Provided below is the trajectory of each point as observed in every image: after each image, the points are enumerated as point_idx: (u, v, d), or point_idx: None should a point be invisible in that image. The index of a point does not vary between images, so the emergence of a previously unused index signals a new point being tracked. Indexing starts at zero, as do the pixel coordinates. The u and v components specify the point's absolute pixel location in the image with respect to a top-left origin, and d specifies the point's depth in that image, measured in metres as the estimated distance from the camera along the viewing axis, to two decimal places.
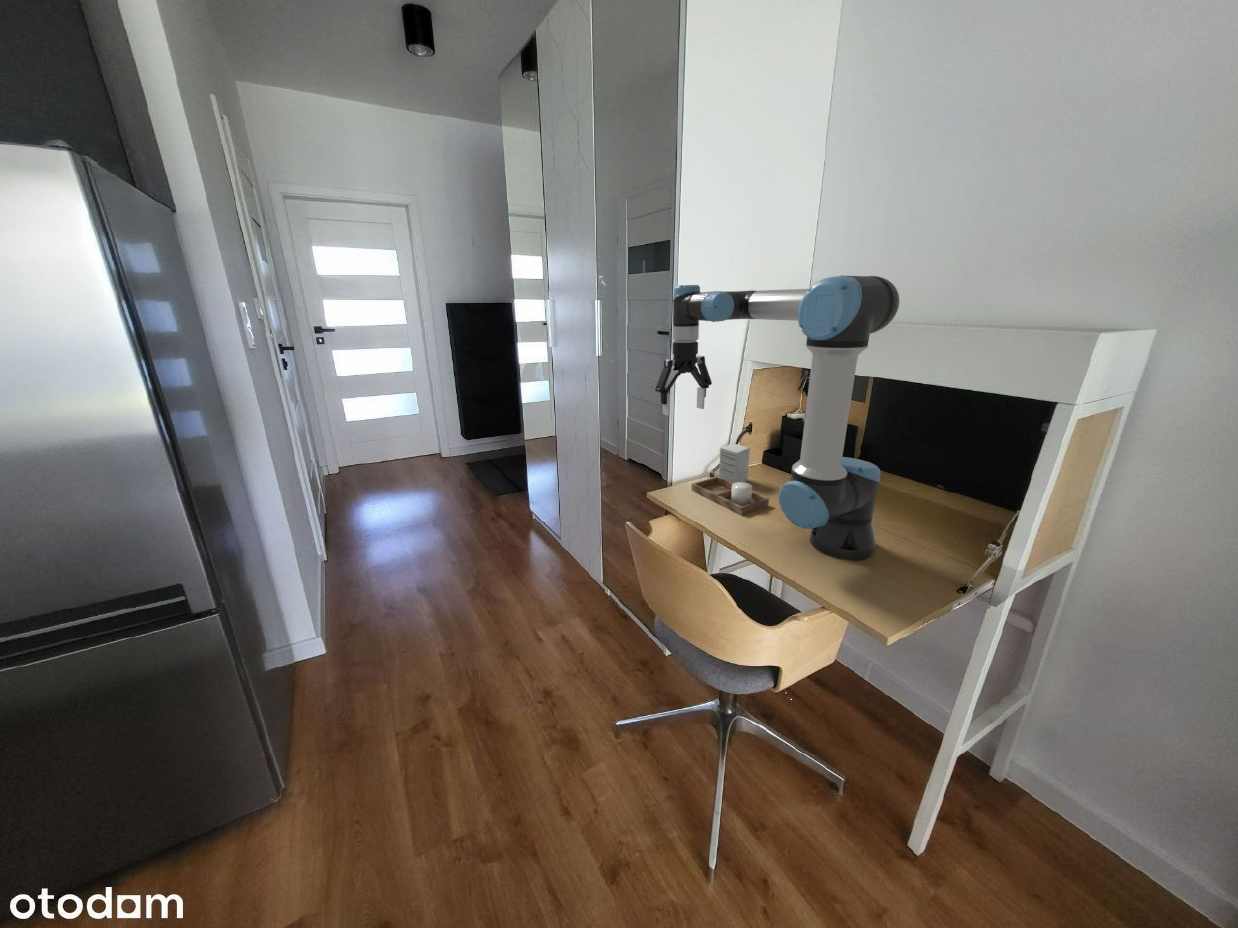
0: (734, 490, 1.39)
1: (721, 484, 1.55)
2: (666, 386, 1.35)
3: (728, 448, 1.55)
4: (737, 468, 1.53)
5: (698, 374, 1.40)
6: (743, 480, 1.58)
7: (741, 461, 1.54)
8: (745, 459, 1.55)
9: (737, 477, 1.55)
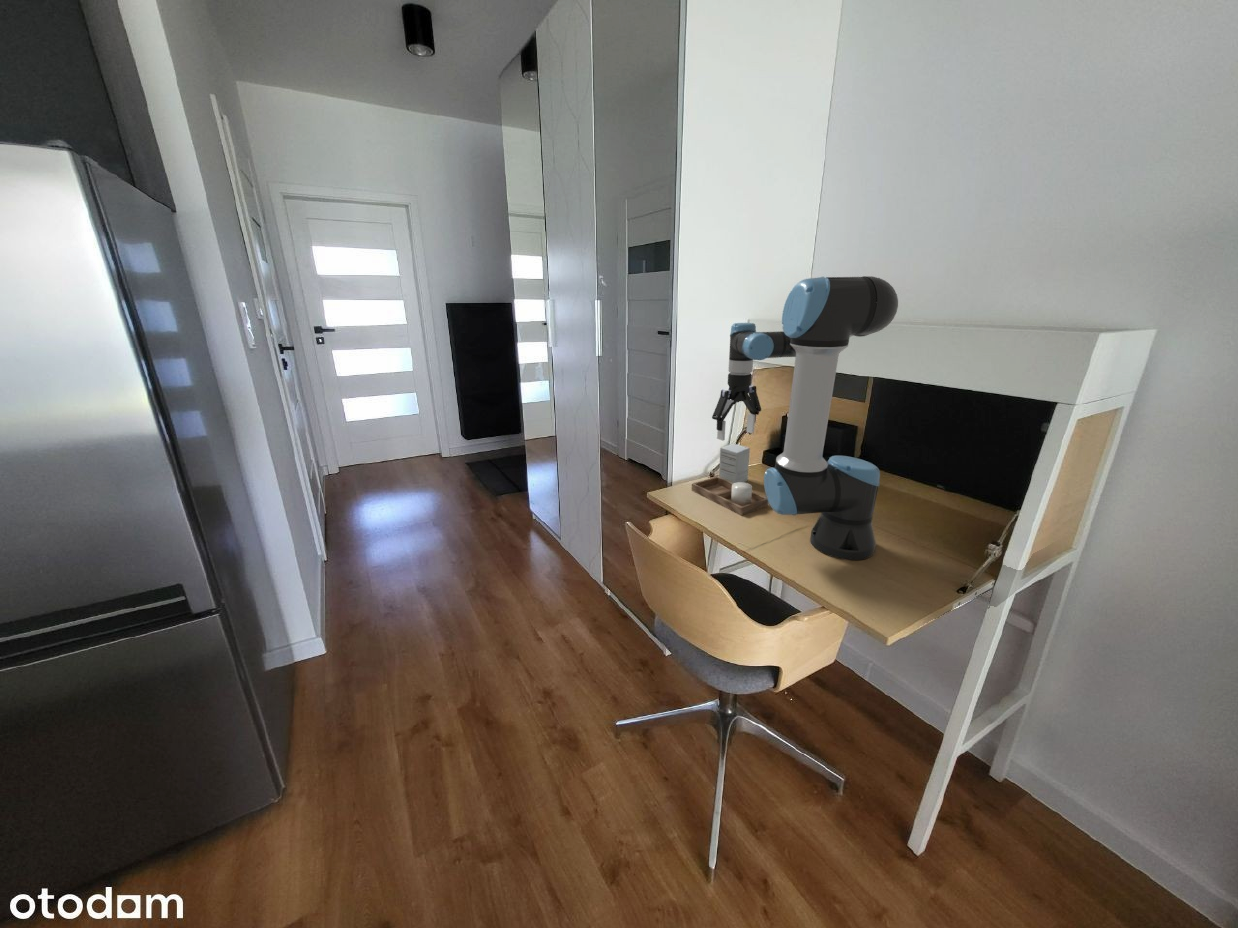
0: (734, 490, 1.39)
1: (721, 484, 1.55)
2: (722, 414, 1.48)
3: (728, 448, 1.55)
4: (737, 468, 1.53)
5: (750, 402, 1.52)
6: (743, 480, 1.58)
7: (741, 461, 1.54)
8: (745, 459, 1.55)
9: (737, 477, 1.55)
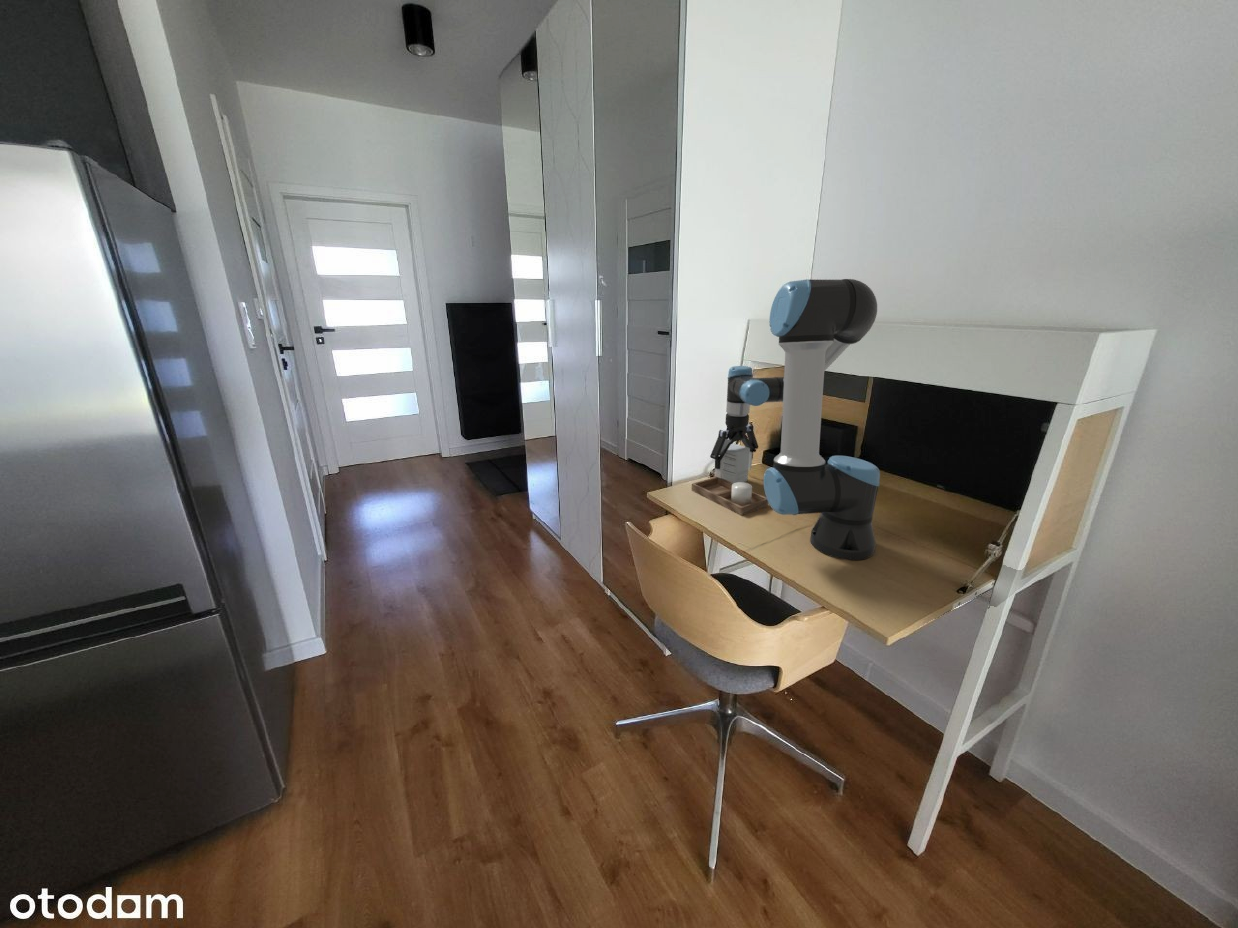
0: (734, 490, 1.39)
1: (721, 484, 1.55)
2: (720, 453, 1.52)
3: (728, 448, 1.55)
4: (737, 468, 1.53)
5: (747, 441, 1.57)
6: (743, 480, 1.58)
7: (741, 461, 1.54)
8: (745, 459, 1.55)
9: (737, 477, 1.55)
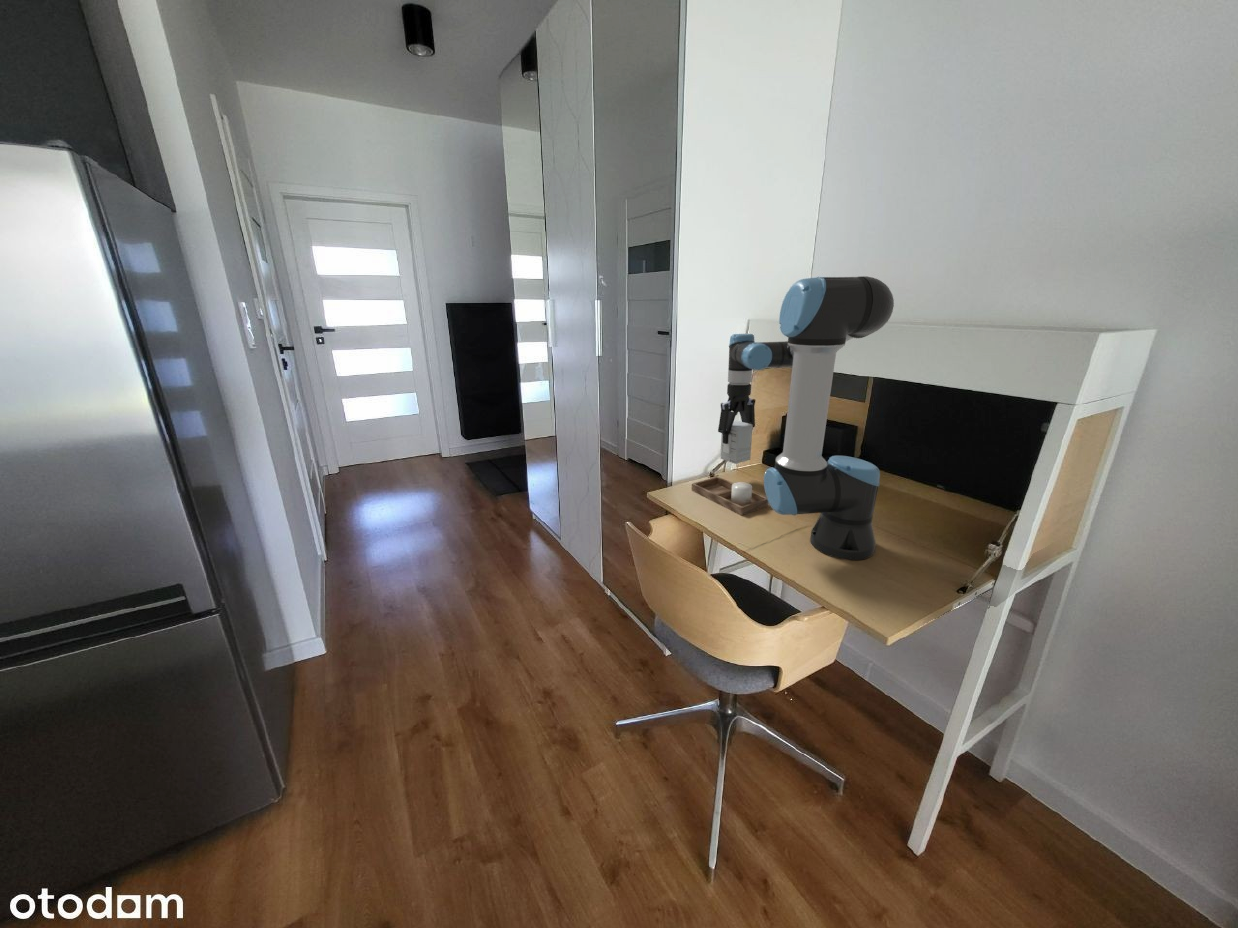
0: (734, 490, 1.39)
1: (721, 484, 1.55)
2: (727, 427, 1.50)
3: None
4: (737, 444, 1.50)
5: (746, 415, 1.52)
6: (745, 458, 1.54)
7: (742, 437, 1.50)
8: (747, 436, 1.51)
9: (738, 454, 1.51)
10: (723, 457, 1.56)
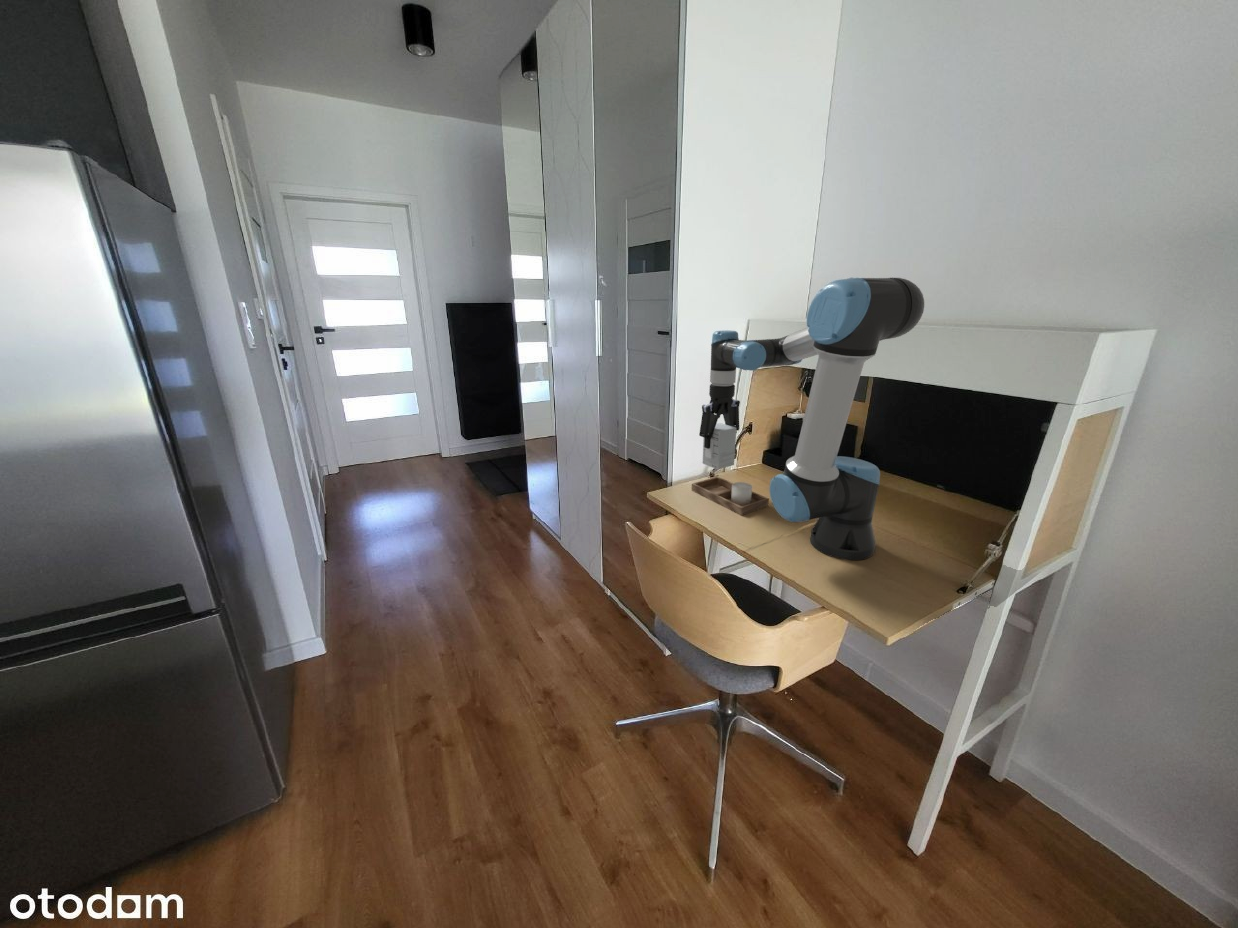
0: (734, 490, 1.39)
1: (721, 484, 1.55)
2: (709, 431, 1.40)
3: None
4: (719, 448, 1.40)
5: (730, 418, 1.43)
6: (728, 463, 1.44)
7: (725, 441, 1.41)
8: (730, 440, 1.42)
9: (720, 459, 1.42)
10: (705, 462, 1.47)
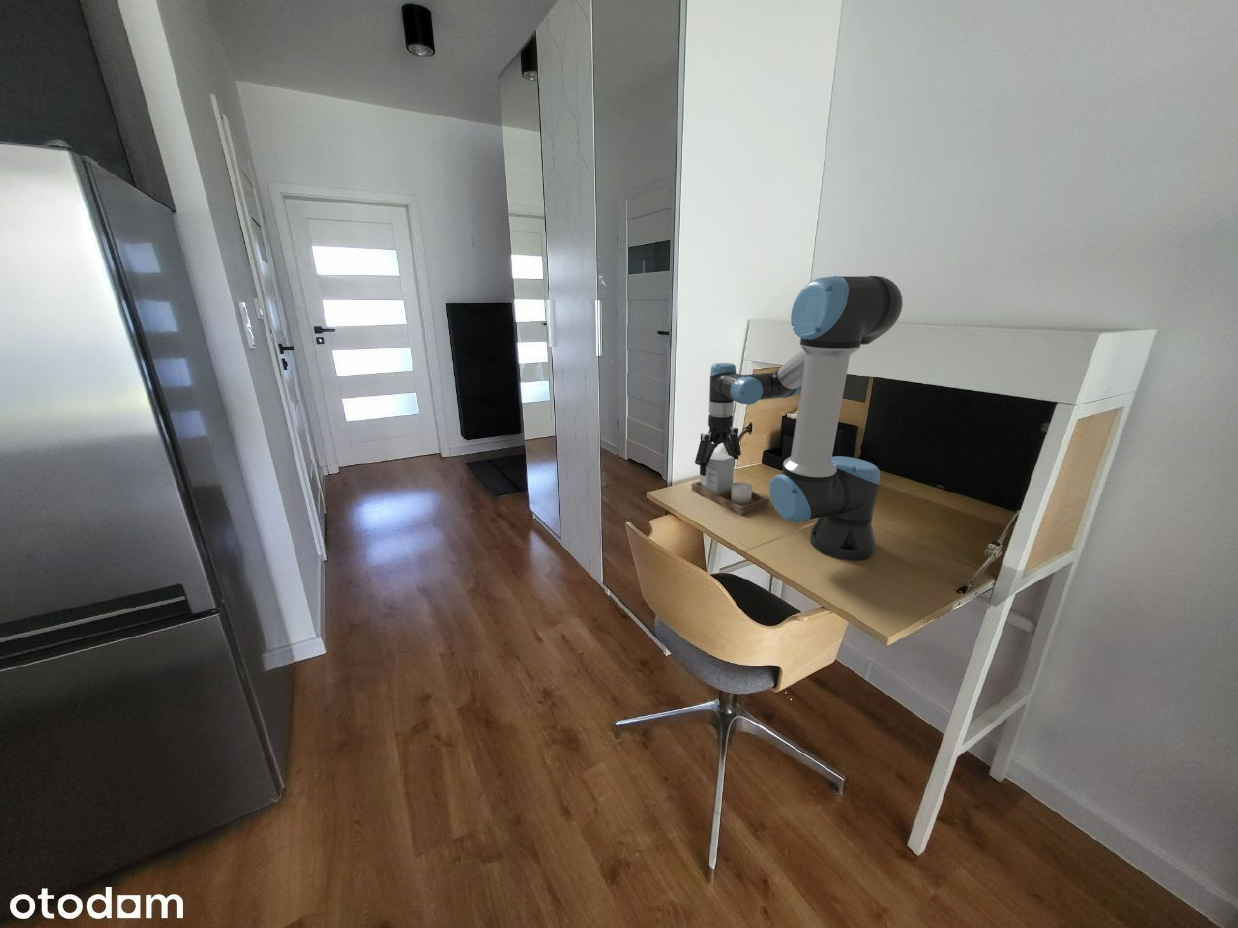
0: (734, 490, 1.39)
1: None
2: (705, 459, 1.43)
3: None
4: (718, 478, 1.43)
5: (730, 445, 1.46)
6: None
7: (723, 471, 1.44)
8: (728, 470, 1.45)
9: (719, 488, 1.45)
10: None
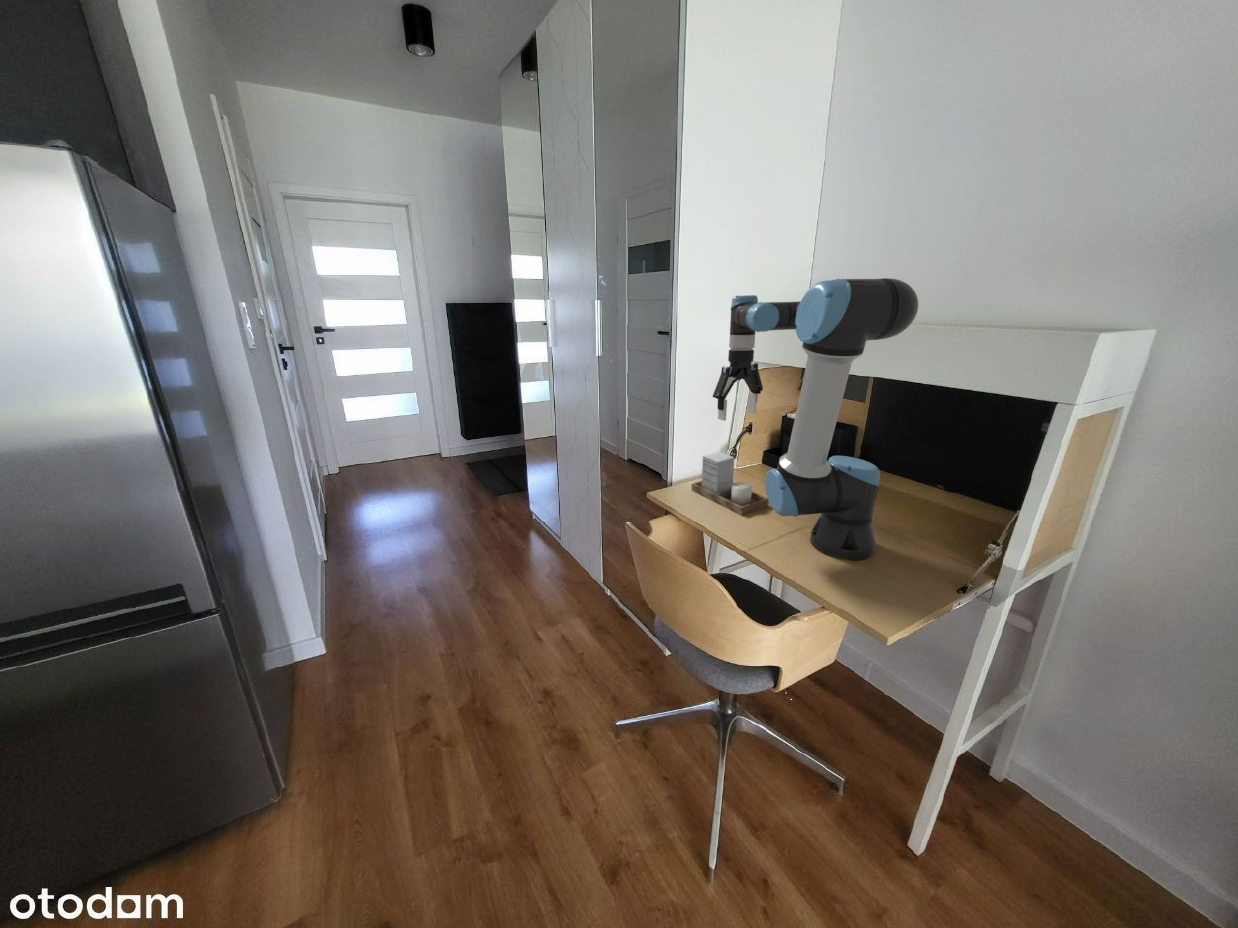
0: (734, 490, 1.39)
1: None
2: (723, 392, 1.40)
3: (710, 457, 1.45)
4: (718, 478, 1.43)
5: (751, 380, 1.45)
6: None
7: (723, 471, 1.44)
8: (728, 470, 1.45)
9: (719, 488, 1.45)
10: None
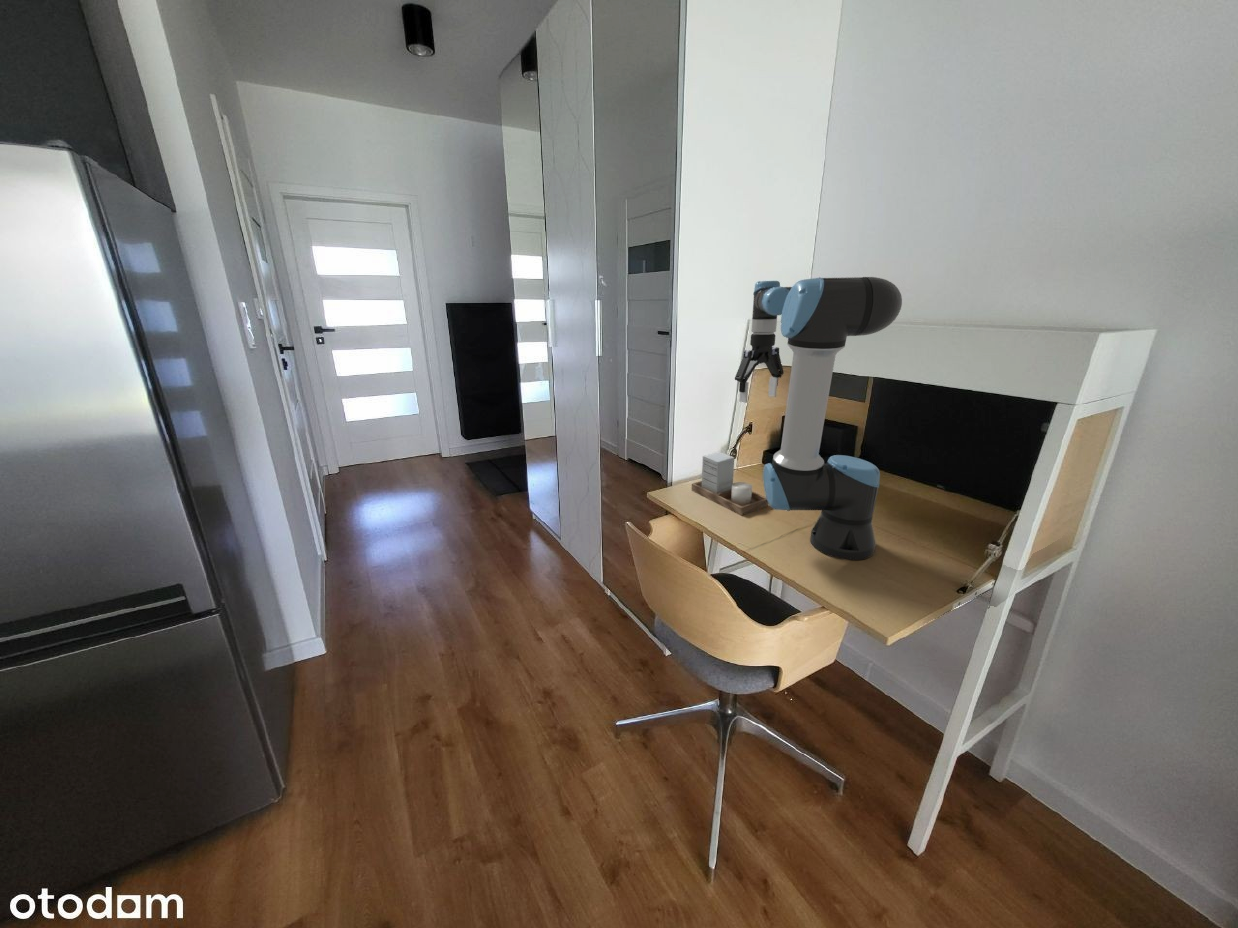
0: (734, 490, 1.39)
1: None
2: (745, 375, 1.45)
3: (710, 457, 1.45)
4: (718, 478, 1.43)
5: (773, 364, 1.50)
6: None
7: (723, 471, 1.44)
8: (728, 470, 1.45)
9: (719, 488, 1.45)
10: None
